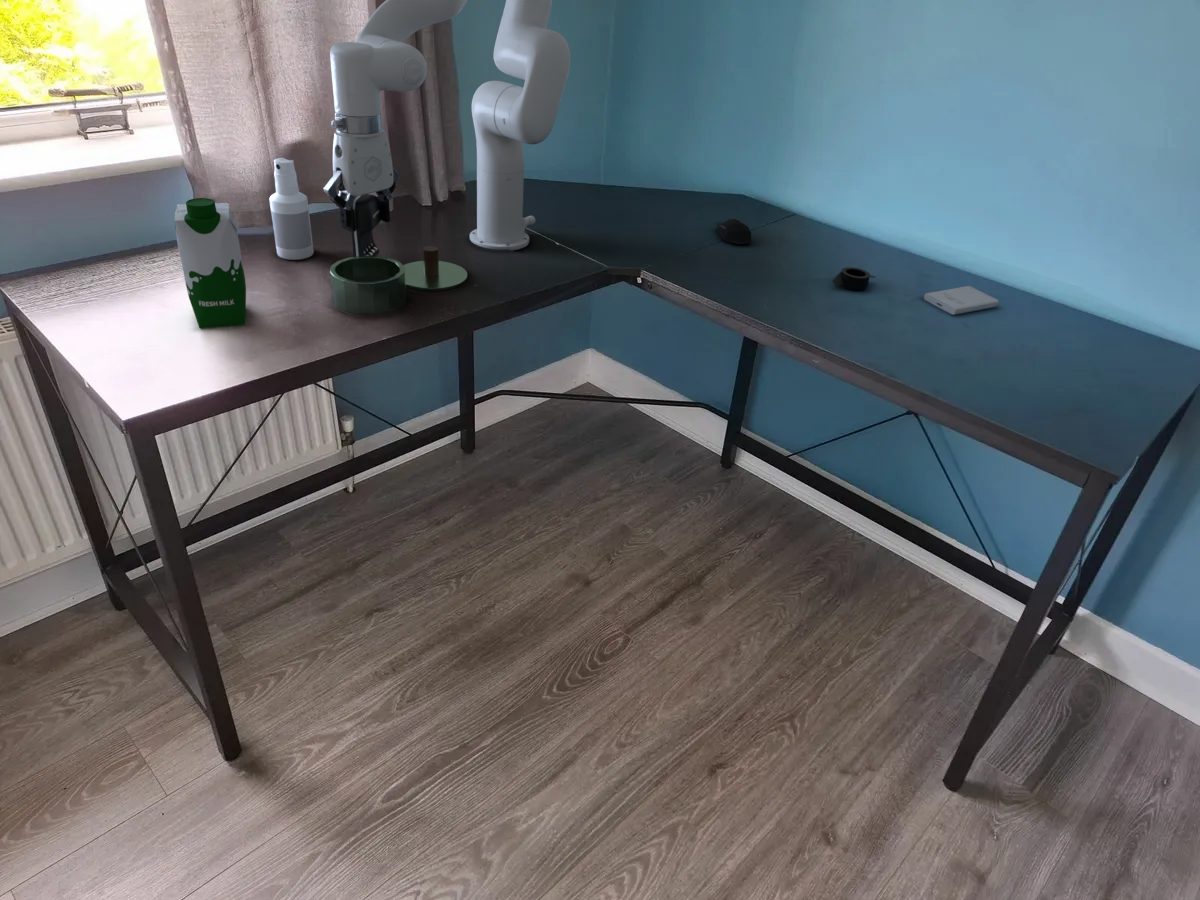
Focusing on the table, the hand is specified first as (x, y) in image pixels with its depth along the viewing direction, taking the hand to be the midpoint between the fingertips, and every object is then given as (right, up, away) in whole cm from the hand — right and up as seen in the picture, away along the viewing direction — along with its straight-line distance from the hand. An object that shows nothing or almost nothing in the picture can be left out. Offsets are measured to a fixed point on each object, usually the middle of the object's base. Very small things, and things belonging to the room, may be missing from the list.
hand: (366, 224), depth 152 cm
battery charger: (-1, -5, +4) cm, 7 cm away
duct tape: (+95, -7, +21) cm, 97 cm away
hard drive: (+116, -11, +18) cm, 118 cm away
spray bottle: (-17, -3, +12) cm, 21 cm away
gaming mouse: (+73, +9, +42) cm, 84 cm away
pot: (+2, -15, -4) cm, 16 cm away
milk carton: (-20, -19, -13) cm, 31 cm away
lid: (+11, -8, +6) cm, 15 cm away
